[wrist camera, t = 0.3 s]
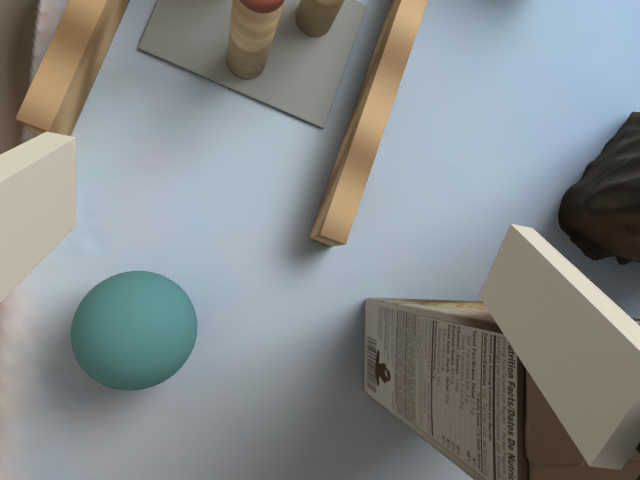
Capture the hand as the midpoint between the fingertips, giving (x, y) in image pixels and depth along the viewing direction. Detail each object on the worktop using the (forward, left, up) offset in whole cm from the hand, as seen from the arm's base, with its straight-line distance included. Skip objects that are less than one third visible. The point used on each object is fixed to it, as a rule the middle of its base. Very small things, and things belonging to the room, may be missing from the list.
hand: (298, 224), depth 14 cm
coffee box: (-2, -13, -15) cm, 20 cm away
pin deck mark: (+13, +4, -15) cm, 20 cm away
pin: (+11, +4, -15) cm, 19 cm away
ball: (-6, +4, -12) cm, 14 cm away
